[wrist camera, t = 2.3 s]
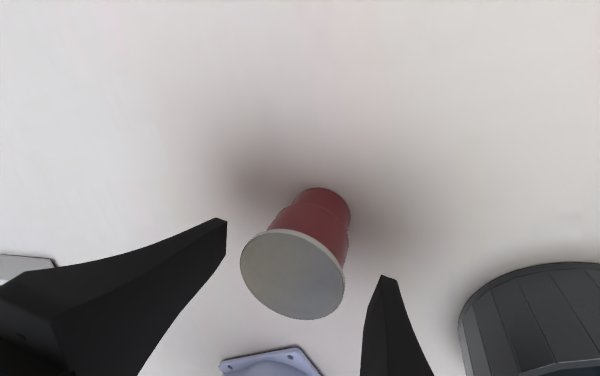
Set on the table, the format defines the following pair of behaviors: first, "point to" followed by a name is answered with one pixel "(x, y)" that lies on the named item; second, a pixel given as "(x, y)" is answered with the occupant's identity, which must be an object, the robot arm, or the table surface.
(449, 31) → the table surface
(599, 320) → the tin
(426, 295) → the table surface
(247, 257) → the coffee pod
